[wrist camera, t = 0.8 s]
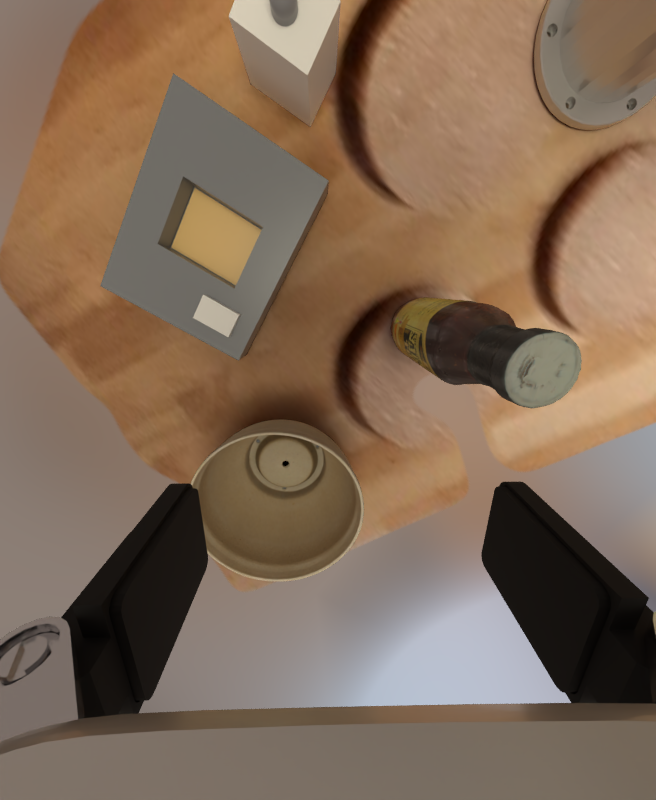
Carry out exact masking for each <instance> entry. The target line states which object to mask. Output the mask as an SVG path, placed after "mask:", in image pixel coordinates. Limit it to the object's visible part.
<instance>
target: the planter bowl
mask: <svg viewBox="0 0 656 800" xmlns="http://www.w3.org/2000/svg"><path fill="white" fill-rule="evenodd" d="M284 461H288V462H289V464H288V465H287V466H284V465H283V462H284ZM191 485H192V487H193V488H196V489H197V490H198V493H199V499H200V506H201V513H202V520H203V526H204V533H205V540H206V547H207V553H208V554H209V555H210V556H211V557H212V558H213V559H215V560H216V561H217V562H218V563H220V564H221V565H223V566H224V567H226V568H228V569H229V570H231V571H233V572H235V573H237V574H240V575H243V576H245V577H249V578H252V579H257V580H263V581H292V580H298V579H302V578H306V577H309V576H312V575H315V574H317V573H319V572H322V571H323V570H325V569H327V568H329V567H330V566H331V565H333V564H334V563H336V562H337V561H338V560H339V559H340V558H342V557H343V556H344V555H345V554H346V553H347V552H348V550H349V549H350V548H351V547H352V545H353V544H354V542H355V540H356V539H357V537H358V534H359V532H360V529H361V526H362V522H363V516H364V502H363V496H362V491H361V488H360V485H359V482H358V480H357V478H356V476H355V474H354V472H353V470H352V468H351V465H350V463H349V462H348V460H347V458H346V456H345V455H344V453H343V452H342V450H341V449H340V448H339V447H338V446H337V444H336V443H335V442H334V441H333V440H332V439H331V438H330V437H328V436H327V435H326V434H324V433H323V432H322V431H320V430H318V429H317V428H315V427H313V426H310V425H308V424H305V423H302V422H298V421H294V420H283V419H278V420H268V421H264V422H260V423H256V424H253V425H251V426H248V427H246V428H244V429H242V430H240V431H239V432H237V433H236V434H234V435H233V436H231V437H230V438H229V439H227V440H226V441H225V442H224V443H223V444H222V445H221V446H220V447H218V448H217V449H216V450H215V451H213V452H212V453H211V454H210V455H209V456H208V457H207V458H206V459H205V461H204V462H203V463H202V464H201V466H200V467H199V469H198V470H197V472H196V473H195V475H194V477H193V479H192V482H191Z"/></svg>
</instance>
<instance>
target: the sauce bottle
mask: <svg viewBox="0 0 656 800" xmlns="http://www.w3.org/2000/svg"><path fill="white" fill-rule="evenodd" d="M391 333H392V337H393V339H394V342H395V344H396V346H397V347H398V349H399V350H400V351H401V352H402V353H403V354H405V355H406V356H408V357H409V358H411V359H412V360H414V361H415V362H416V363H418V364H419V365H421V366H422V367H423V368H425V369H426V370H428V371H429V372H431V373H432V374H434V375H435V376H437V377H438V378H440V379H441V380H443V381H444V382H447V383H449V384H453V385H461V384H482V385H486V386H490V387H492V388H493V389H495V390H496V392H497V393H498V394H499V395H500V396H501V397H503V398H504V399H506V400H508V401H511V402H513V403H515V404H517V405H519V406H523V407H528V408H537V407H543V406H546V405H550V404H552V403H554V402H556V401H557V400H559V399H561V398H562V397H563V396H564V395H565V394H567V393H568V391H569V390H570V389H571V388H572V387H573V385H574V383H575V382H576V380H577V378H578V375H579V372H580V370H581V362H582V361H581V354H580V350H579V347H578V346H577V344H576V343H575V342H574V341H573V340H572V339H571V338H570V337H569V336H568V335H565V334H563V333H560V332H556V331H552V330H546V329H539V328H532V329H526V330H524V329H520V328H517V327H516V325H515V323H514V321H513V319H512V318H511V317H510V315H509V314H507V313H506V312H504V311H502V310H500V309H499V308H497V307H495V306H492V305H489V304H483V303H476V302H473V301H464V300H450V299H438V298H419V299H414V300H412V301H410V302H408V303H406V304H404V305H403V306H402V307H400V308H399V309H398V311H397V312H396V313H395V315H394V317H393V320H392V325H391Z"/></svg>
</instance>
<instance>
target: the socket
mask: <svg viewBox="0 0 656 800" xmlns="http://www.w3.org/2000/svg"><path fill="white" fill-rule="evenodd" d="M328 183H329V181H328V180H327V179H325V178H324V177H322V176H321V175H320V174H318V173H317V172H315V171H314V170H312V169H311V168H309V167H308V166H306V165H305V164H304V163H302V162H301V161H299V160H298V159H296V158H295V157H293V156H292V155H291V154H289V153H288V152H286V151H285V150H283V149H282V148H280V147H279V146H278V145H276V144H275V143H273V142H272V141H270V140H269V139H267V138H266V137H265V136H263V135H262V134H260V133H259V132H257V131H256V130H254V129H253V128H252V127H250V126H249V125H247V124H246V123H244V122H243V121H241V120H240V119H239V118H237V117H236V116H234V115H233V114H231V113H230V112H228V111H227V110H226V109H224V108H223V107H221V106H220V105H218V104H217V103H215V102H214V101H213V100H211V99H210V98H208V97H207V96H205V95H204V94H202V93H201V92H200V91H198V90H197V89H195V88H194V87H192V86H191V85H189V84H188V83H187V82H185V81H184V80H182V79H181V78H179V77H178V76H176V75H175V74H174V73H173V76H172V79H171V82H170V85H169V88H168V91H167V93H166V96H165V99H164V102H163V105H162V108H161V111H160V114H159V117H158V120H157V123H156V126H155V128H154V131H153V134H152V137H151V140H150V143H149V146H148V149H147V152H146V155H145V158H144V160H143V163H142V166H141V169H140V172H139V175H138V178H137V181H136V184H135V187H134V190H133V193H132V195H131V198H130V201H129V204H128V207H127V210H126V213H125V216H124V219H123V222H122V225H121V227H120V230H119V233H118V236H117V239H116V242H115V245H114V248H113V251H112V254H111V257H110V260H109V262H108V265H107V268H106V271H105V274H104V277H103V280H102V283H101V286H102V287H103V288H105V289H107V290H109V291H111V292H113V293H114V294H116V295H118V296H120V297H122V298H124V299H126V300H127V301H129V302H131V303H133V304H135V305H137V306H138V307H140V308H142V309H144V310H146V311H148V312H150V313H151V314H153V315H155V316H157V317H159V318H161V319H163V320H164V321H166V322H168V323H170V324H172V325H174V326H175V327H177V328H179V329H181V330H183V331H185V332H187V333H188V334H190V335H192V336H194V337H196V338H198V339H199V340H201V341H203V342H205V343H207V344H209V345H211V346H212V347H214V348H216V349H218V350H220V351H222V352H224V353H225V354H227V355H229V356H231V357H233V358H235V359H236V360H238V361H239V360H240V359H241V358H242V357H244V356H245V355H246V354H247V352H248V350H249V348H250V346H251V344H252V342H253V340H254V338H255V336H256V334H257V332H258V330H259V328H260V326H261V324H262V323H263V321H264V319H265V317H266V315H267V313H268V311H269V309H270V307H271V305H272V303H273V301H274V299H275V297H276V295H277V293H278V291H279V289H280V287H281V285H282V283H283V281H284V279H285V277H286V275H287V273H288V271H289V269H290V267H291V265H292V263H293V261H294V259H295V257H296V255H297V253H298V251H299V249H300V247H301V245H302V243H303V242H304V240H305V238H306V236H307V234H308V232H309V230H310V228H311V226H312V224H313V222H314V220H315V218H316V216H317V214H318V212H319V210H320V208H321V206H322V204H323V202H324V200H325V198H326V196H327V194H328Z"/></svg>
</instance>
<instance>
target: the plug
mask: <svg viewBox="0 0 656 800" xmlns="http://www.w3.org/2000/svg"><path fill="white" fill-rule="evenodd" d="M340 3H341V1H340V0H235V1H234V3H233V6H232V9H231V11H230V14H229V19H230V22H231V25H232V28H233V31H234V34H235V37H236V40H237V43H238V46H239V49H240V52H241V56H242V59H243V62H244V65H245V68H246V71H247V74H248V77H249V80H250V83H251V85H253V86H254V87H255V88H257V89H258V90H260V91H261V92H262V93H264V94H265V95H267V96H268V97H269V98H271V99H272V100H273V101H275V102H276V103H278V104H279V105H280V106H282V107H283V108H285V109H286V110H287V111H289V112H290V113H292V114H293V115H294V116H296V117H297V118H299V119H300V120H301V121H303V122H304V123H306V124H307V125H308V126H310V127H311V125H312V123H313V121H314V119H315V116H316V114H317V112H318V110H319V108H320V106H321V104H322V101H323V99H324V97H325V95H326V93H327V91H328V89H329V86H330V84H331V82H332V80H333V78H334V76H335V74H336V61H337V47H338V32H339V18H340Z"/></svg>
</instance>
